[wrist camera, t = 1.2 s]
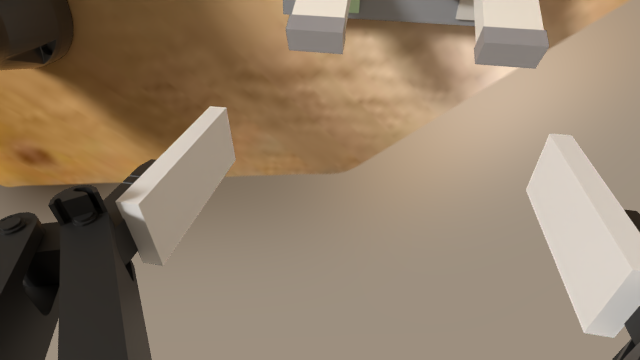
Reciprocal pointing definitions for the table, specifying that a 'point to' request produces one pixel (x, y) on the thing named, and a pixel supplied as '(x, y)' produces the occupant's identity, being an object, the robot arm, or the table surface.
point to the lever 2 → (509, 33)
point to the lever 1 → (318, 26)
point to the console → (408, 11)
